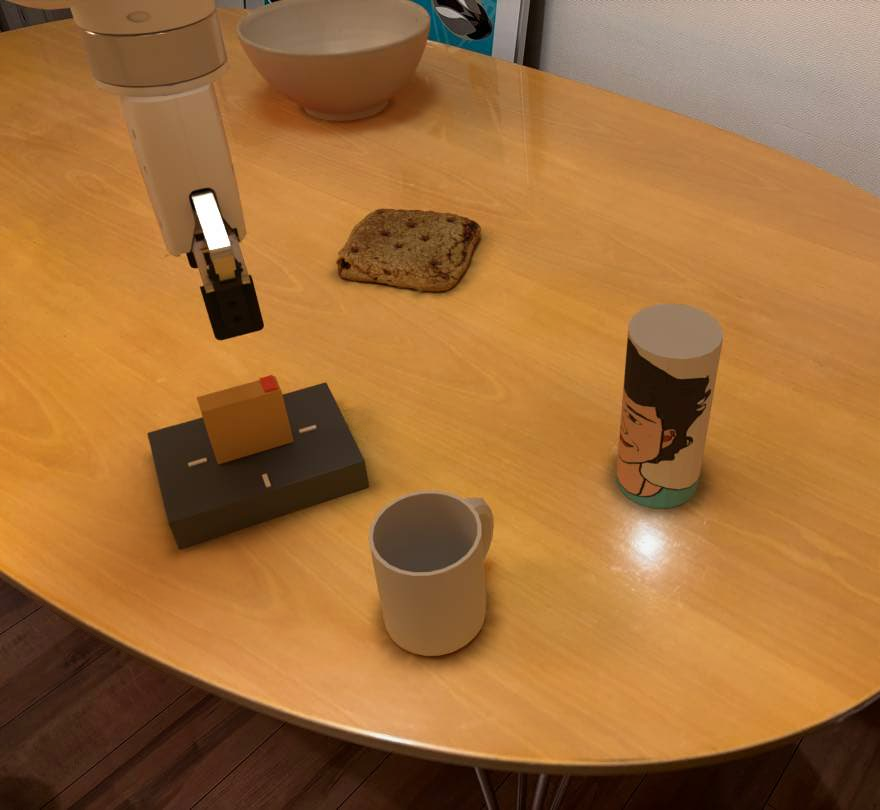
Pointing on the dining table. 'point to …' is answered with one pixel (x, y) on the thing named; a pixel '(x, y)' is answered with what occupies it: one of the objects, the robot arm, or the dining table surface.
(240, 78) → the dining table surface
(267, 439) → the red-cornered brown block
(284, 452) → the plate
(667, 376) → the printed cylinder
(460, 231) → the pastry
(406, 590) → the cup
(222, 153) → the robot arm
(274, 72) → the decorative bowl
